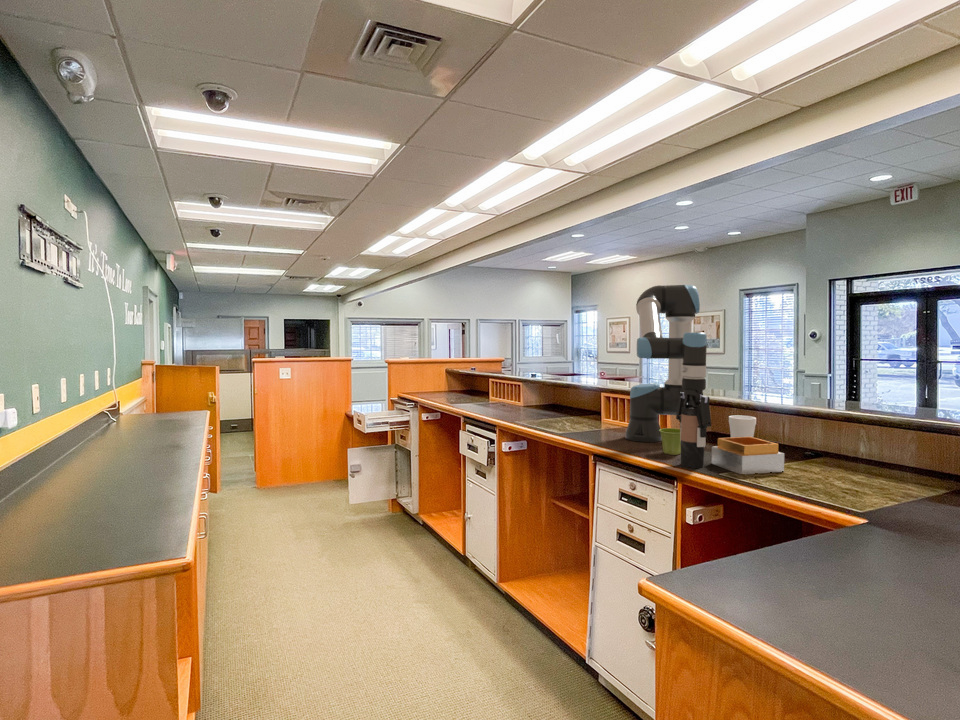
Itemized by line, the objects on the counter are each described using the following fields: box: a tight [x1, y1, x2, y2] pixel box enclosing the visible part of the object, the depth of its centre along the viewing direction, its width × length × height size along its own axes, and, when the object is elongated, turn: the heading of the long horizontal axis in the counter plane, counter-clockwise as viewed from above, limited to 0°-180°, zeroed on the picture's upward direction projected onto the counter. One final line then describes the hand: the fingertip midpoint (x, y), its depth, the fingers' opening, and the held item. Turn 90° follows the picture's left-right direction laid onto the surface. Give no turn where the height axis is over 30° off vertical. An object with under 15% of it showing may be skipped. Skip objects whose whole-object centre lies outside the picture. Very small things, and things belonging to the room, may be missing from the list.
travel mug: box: [680, 406, 705, 469], centre depth 186 cm, size 8×8×20 cm
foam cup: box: [728, 414, 757, 438], centre depth 209 cm, size 10×9×13 cm
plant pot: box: [659, 427, 681, 456], centre depth 205 cm, size 9×9×9 cm
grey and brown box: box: [710, 436, 785, 475], centre depth 184 cm, size 15×21×9 cm
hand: (692, 443), depth 187 cm, fingers open, 9 cm apart
